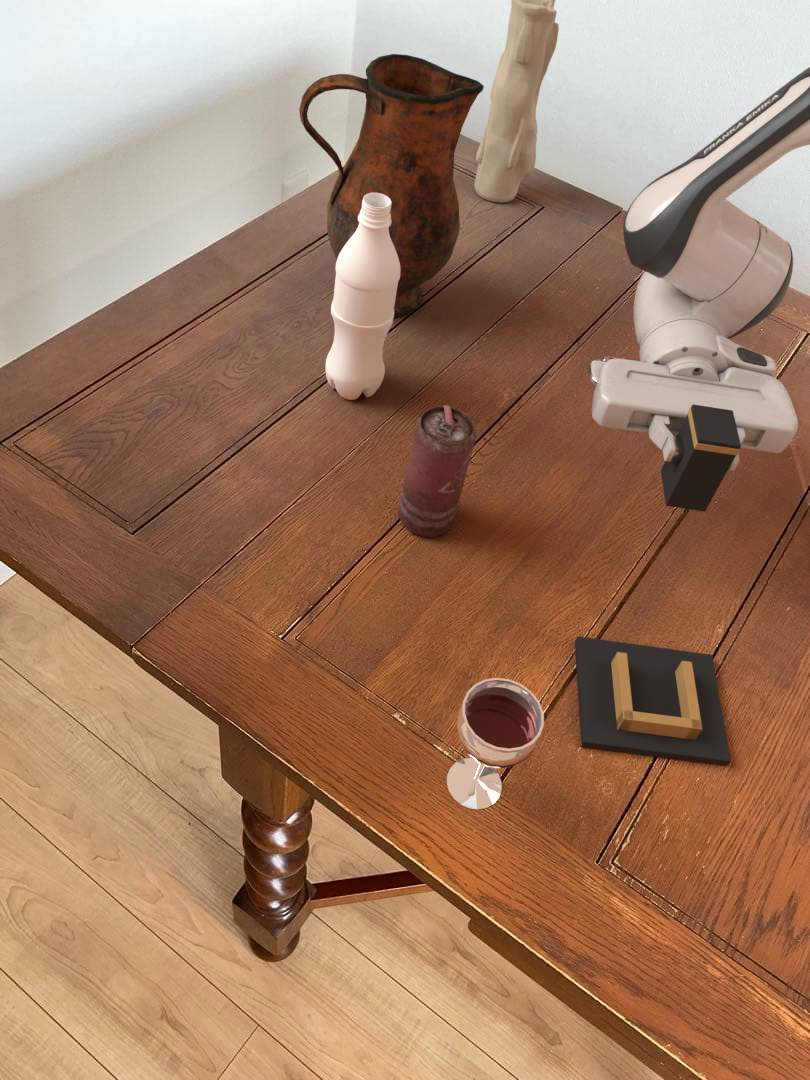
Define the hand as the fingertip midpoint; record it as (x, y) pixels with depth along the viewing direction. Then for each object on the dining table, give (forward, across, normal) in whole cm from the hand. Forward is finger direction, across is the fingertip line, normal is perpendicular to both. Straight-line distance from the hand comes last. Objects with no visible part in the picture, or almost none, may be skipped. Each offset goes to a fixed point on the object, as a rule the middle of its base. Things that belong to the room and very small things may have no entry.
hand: (702, 461), depth 93 cm
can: (-3, -24, +17) cm, 30 cm away
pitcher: (-42, -35, +17) cm, 57 cm away
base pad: (+17, -1, +17) cm, 24 cm away
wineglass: (+28, -18, +17) cm, 37 cm away
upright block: (-1, 0, +5) cm, 5 cm away
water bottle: (-23, -35, +17) cm, 45 cm away
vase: (-75, -17, +17) cm, 79 cm away
